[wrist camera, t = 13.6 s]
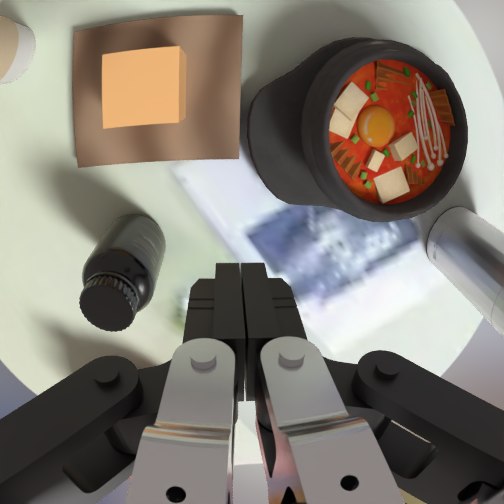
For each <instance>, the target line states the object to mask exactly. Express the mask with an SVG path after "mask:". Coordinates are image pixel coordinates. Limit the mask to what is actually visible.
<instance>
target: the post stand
mask: <svg viewBox="0 0 504 504" xmlns="http://www.w3.org/2000/svg"><path fill="white" fill-rule="evenodd" d="M242 29H243V15H193V16H175V17H163V18H153V19H144V20H136V21H129V22H122V23H116V24H110V25H105V26H100V27H95V28H90V29H85V30H81V31H77V32H74V52H73V106H74V127H75V141H76V153H77V163H78V168H81V167H90V166H100V165H112V164H124V163H138V162H154V161H174V160H204V159H239V136H240V95H241V60H242ZM173 46H180V47H181V49H182V50H183V51H184V53H185V54H186V55H187V56H186V118H185V119H184V120H182V121H181V122H179V123H163V124H148V125H136V126H125V127H115V128H106V129H103V113H102V55H104V54H110V53H117V52H124V51H131V50H140V49H149V48H160V47H173Z"/></svg>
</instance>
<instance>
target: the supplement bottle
mask: <svg viewBox="0 0 504 504" xmlns="http://www.w3.org/2000/svg"><path fill="white" fill-rule="evenodd" d="M165 248H166V243H165V238H164V235H163V233H162V231H161V229H160V228H159V226H158V225H157V224H156V223H155V222H154V221H152V220H151V219H149V218H147V217H145V216H142V215H137V214H129V215H125V216H122V217H120V218H118V219H117V220H115V221H114V222H113V223H112V224H111V226H110V227H109V228H108V230H107V231H106V232H105V234H104V235H103V237H102V238H101V240H100V241H99V243H98V244H97V246H96V247H95V249H94V250H93V252H92V253H91V255H90V256H89V258H88V259H87V261H86V263H85V265H84V268H83V272H82V281H83V286H84V289H83V291H82V292H81V296H80V298H79V299H80V302H79V304H80V309H81V310H82V313H83V314H84V317H86V318H87V320H88V321H89V322H91V324H93V325H95V326H96V327H98V328H100V329H102V330H106V331H111V332H112V331H115V332H117V331H122V330H123V329H126V327H129V326H130V324H132V322H133V320H134V318H135V315H136V313H137V312H139V311H141V310H142V309H144V308H145V307H146V306H147V305H148V304H149V302H150V301H151V299H152V296H153V293H154V290H155V286H156V283H157V279H158V275H159V272H160V268H161V265H162V261H163V258H164V254H165Z"/></svg>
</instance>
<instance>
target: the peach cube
mask: <svg viewBox="0 0 504 504" xmlns="http://www.w3.org/2000/svg"><path fill="white" fill-rule="evenodd" d="M186 56H187V55H186V54H185V53H184V51H183V50H182V49H181V47H180V46H173V47H160V48H149V49H140V50H131V51H124V52H117V53H110V54H104V55H102V113H103V129H106V128H115V127H125V126H136V125H148V124H163V123H179V122H181V121H182V120H184V119H185V118H186Z"/></svg>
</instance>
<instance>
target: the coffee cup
mask: <svg viewBox="0 0 504 504" xmlns="http://www.w3.org/2000/svg"><path fill="white" fill-rule="evenodd" d="M35 47H36V41H35V36H34V34H33V32H32V31H31V29H29V28H28V27H26V26H23V25H21V24H18V23H15V22H13V21H12V20H11V19H9V18H6V17H4V16H1V15H0V85H1V84H6V83H10V82H13V81H15V80H17V79H18V78H19V77H20V76H22V74H23V73H24V72H25V71H26V70H27V68H28V67H29V65H30V63H31V61H32V59H33V56H34V53H35Z"/></svg>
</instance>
